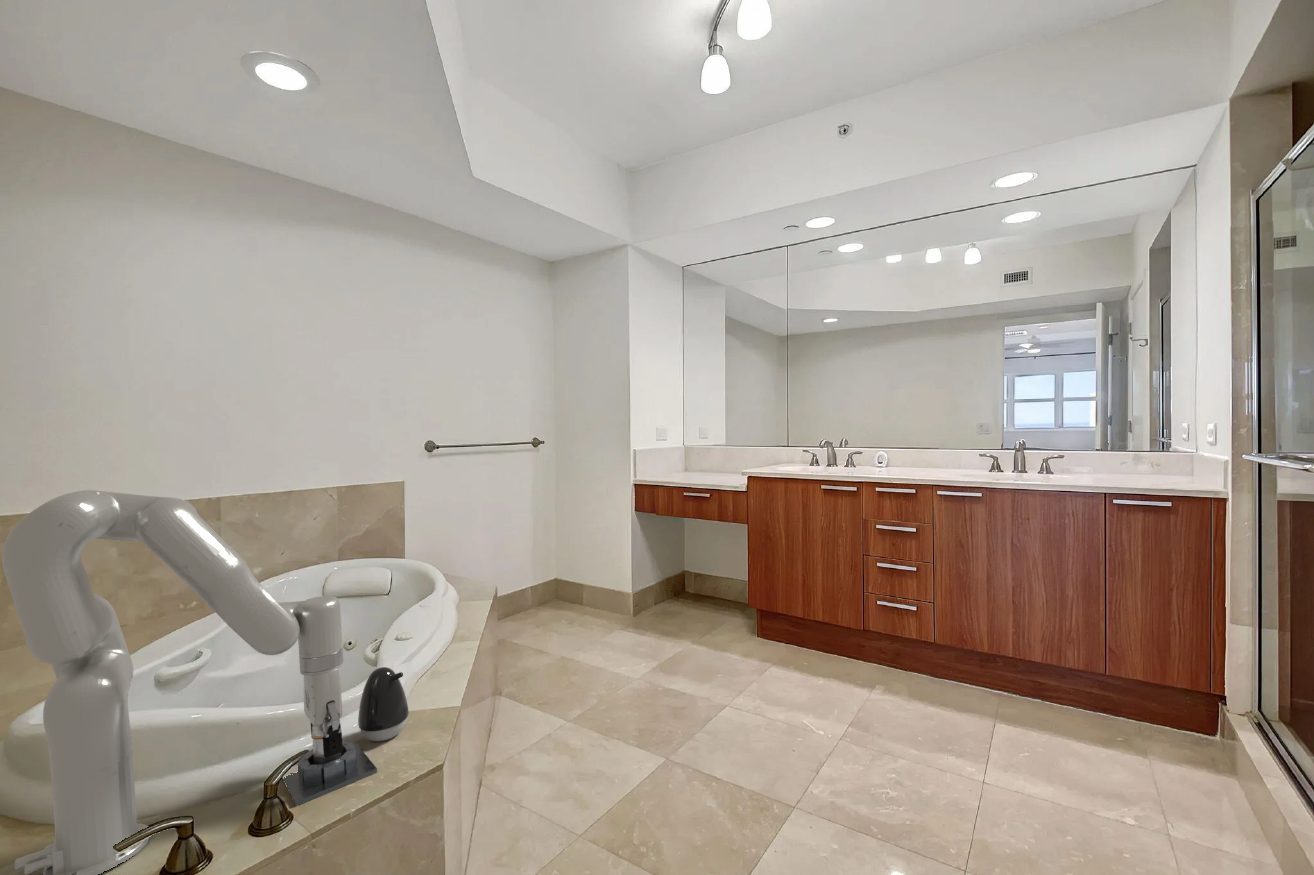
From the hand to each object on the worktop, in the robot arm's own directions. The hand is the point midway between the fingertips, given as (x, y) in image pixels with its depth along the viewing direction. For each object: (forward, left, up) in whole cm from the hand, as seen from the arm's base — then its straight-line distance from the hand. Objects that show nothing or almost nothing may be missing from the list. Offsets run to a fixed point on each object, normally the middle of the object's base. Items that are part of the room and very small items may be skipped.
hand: (326, 745), depth 115 cm
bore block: (0, 0, -6) cm, 6 cm away
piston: (0, 0, -5) cm, 5 cm away
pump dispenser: (+13, +7, -6) cm, 16 cm away
